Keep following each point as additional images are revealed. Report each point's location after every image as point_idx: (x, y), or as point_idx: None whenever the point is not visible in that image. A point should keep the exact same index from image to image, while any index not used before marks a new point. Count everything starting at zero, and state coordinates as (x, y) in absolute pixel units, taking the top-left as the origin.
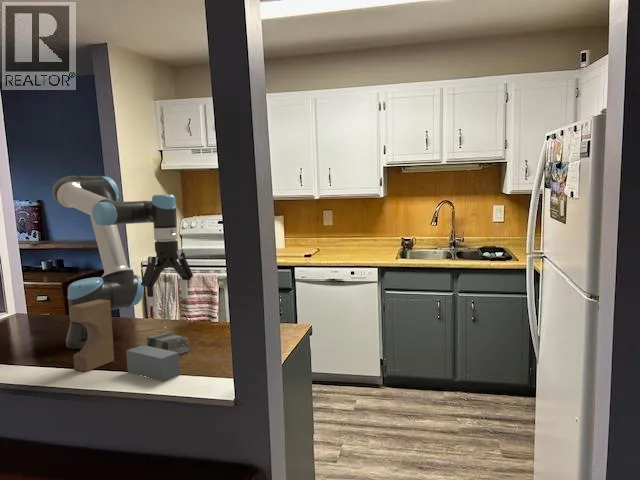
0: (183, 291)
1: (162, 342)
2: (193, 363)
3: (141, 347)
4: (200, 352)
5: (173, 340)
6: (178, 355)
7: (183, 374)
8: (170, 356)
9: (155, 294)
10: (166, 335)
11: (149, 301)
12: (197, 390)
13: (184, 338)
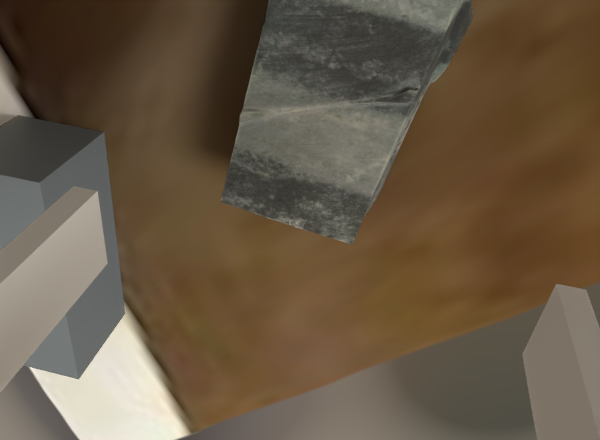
0: (557, 392)
1: (237, 139)
2: (236, 299)
3: (14, 202)
4: (371, 258)
5: (272, 200)
6: (84, 369)
7: (136, 320)
8: (42, 366)
9: (18, 355)
10: (368, 61)
11: (43, 214)
12: (80, 401)
13: (330, 235)
